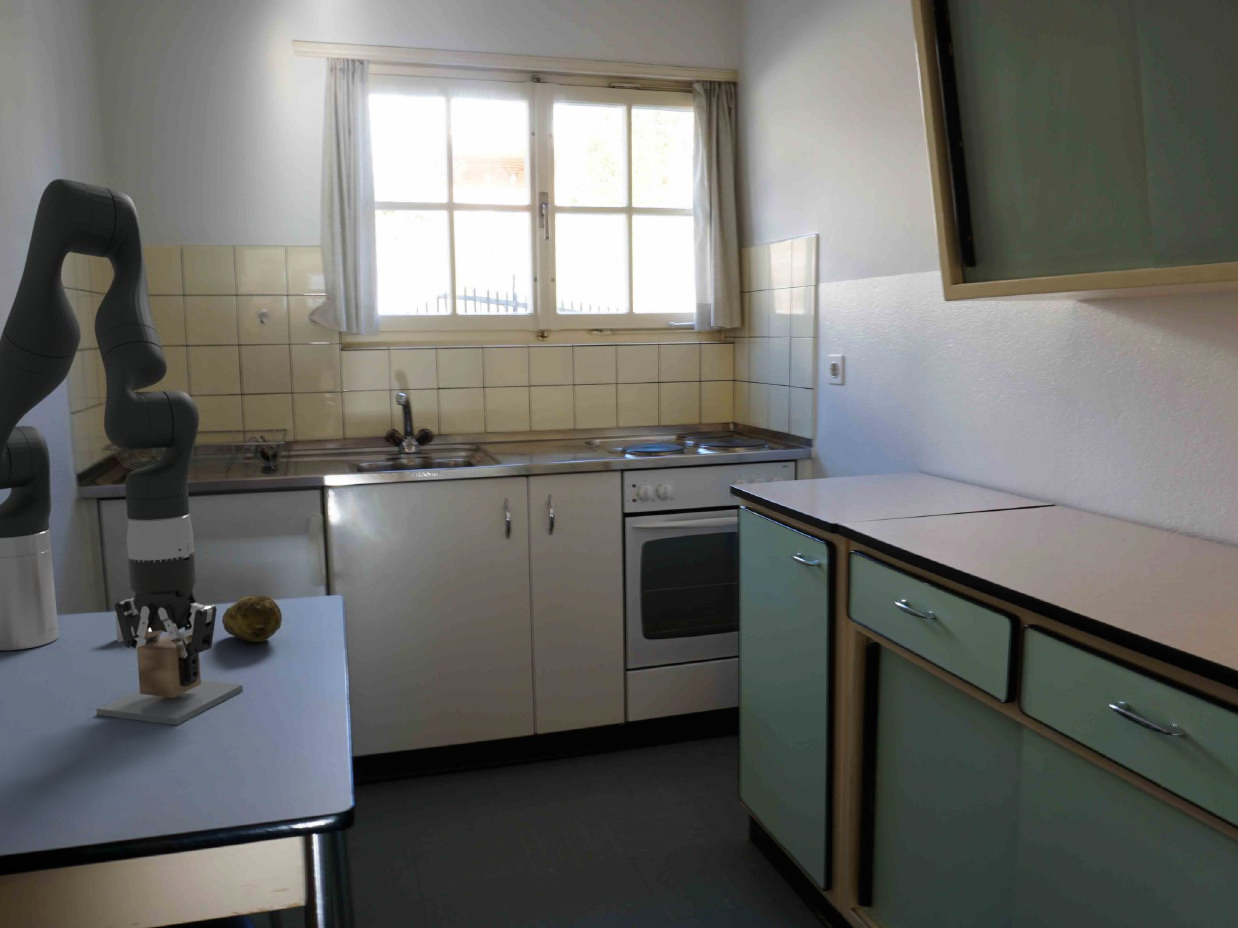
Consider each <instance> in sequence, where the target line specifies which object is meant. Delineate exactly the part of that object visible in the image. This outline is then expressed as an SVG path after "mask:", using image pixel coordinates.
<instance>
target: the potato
mask: <svg viewBox="0 0 1238 928" xmlns="http://www.w3.org/2000/svg"><path fill="white" fill-rule="evenodd" d="M282 619H283V615H282V611H281V608H280V607H279V605H278V604H277V602H275V600H274V599H272V598H271V597H269V596H265V595H250V596H245V597H242V598H241V599H239V600H238V601H237V602H236V603H234V604H233V605H231V606H230V607H227V608H226V611H225V612H224V614H223V615H222V620H221V622H222V625H223V628H224V630H225V632H227V634H229V635H231V636H233V637H237V638H239V639H241V640H243V641H245V642H250V643H251V642H252V643H259V642H265V641H267V640H268V639H269V638H270V637H271V638H272V637H273V635H275V633H277V631H278V630H279V629H280V628H281V626H282V621H283V620H282Z"/></svg>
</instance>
